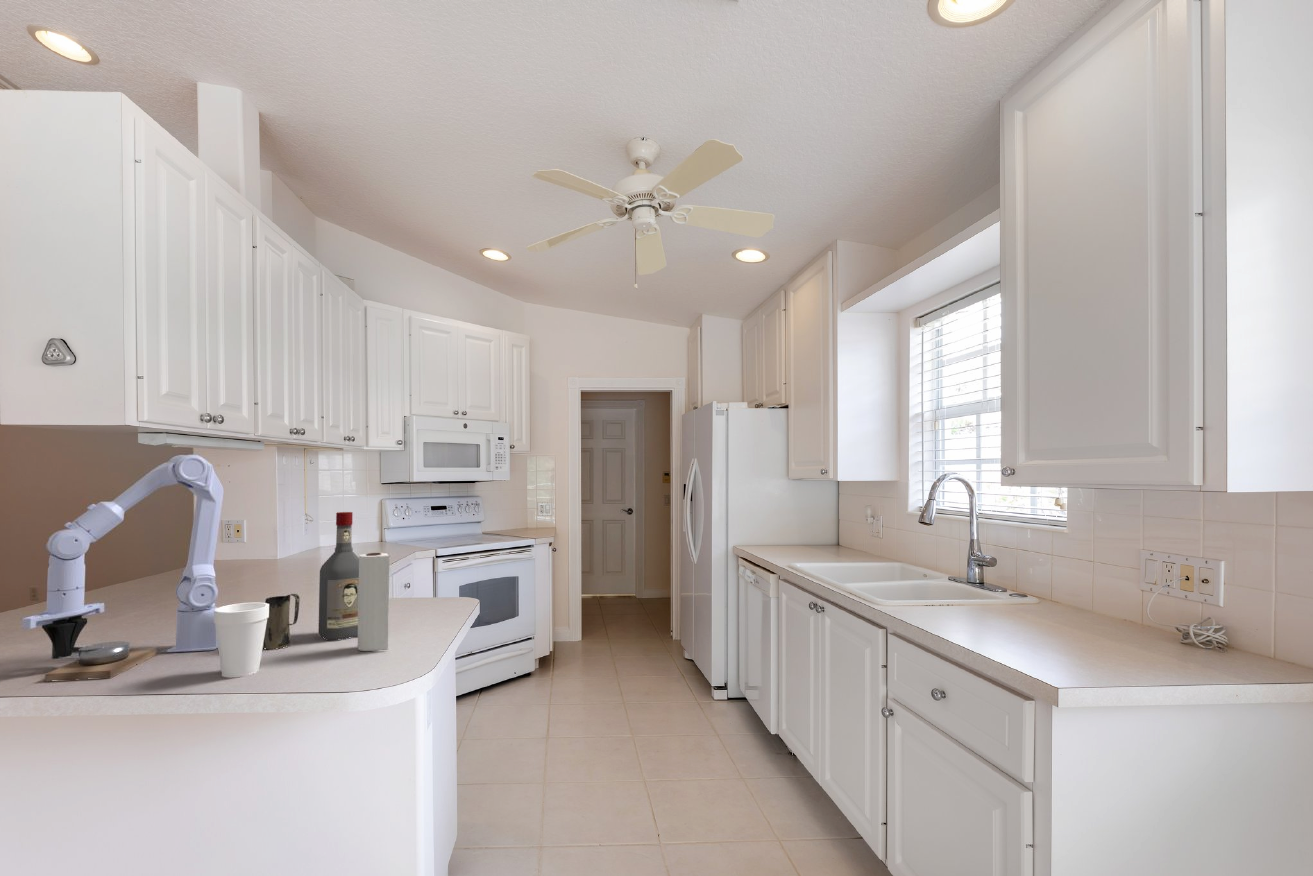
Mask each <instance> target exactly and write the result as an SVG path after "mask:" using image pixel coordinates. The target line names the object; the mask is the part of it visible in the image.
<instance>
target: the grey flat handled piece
mask: <svg viewBox="0 0 1313 876" xmlns="http://www.w3.org/2000/svg"><path fill="white" fill-rule="evenodd" d="M130 646H131V643H130V642H129V641H126V640H125V641H123V640H122V641H121V640H119V641H118V640H117V641H105V642H99V643H94V644H75V645H74V648H73V651H72V654H71V656H67V657H56V653H55V650H54V647H53V644H52V643H51V659H52V660H58V659H62V658H63V659H67V658H68V659H70V658H71V659H78V660H79V661H78V663H79V664H83V665H93V664H103V663H109V662H114V661H118V660H122V659H124V658H127V657H128V656H129V649H130Z"/></svg>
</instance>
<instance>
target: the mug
mask: <svg viewBox="0 0 1313 876" xmlns="http://www.w3.org/2000/svg"><path fill="white" fill-rule="evenodd" d="M291 596H292V597H294V599H295V600H294V603H295V604H294V616H293V617H294V618H293V622H292V623H290V606H291ZM264 603H267V604H269V618H267V624H266V630H265V636H264V642H263V648H266V649H276V648H282V649H284V648H283V647H286V646H289V645H290V644H292V643H291V635H290V634H291V633H290V630H291V629H290V626H292V625H295V624H297V622H298V619H299V611H300V596H299V595H298V594H297V593H291V594H287V595H276V596H270V597H267V598H265V602H264ZM290 646H291V645H290ZM290 646H289V647H290ZM263 648H262V649H263ZM286 648H287V647H286ZM276 650H277V649H276Z"/></svg>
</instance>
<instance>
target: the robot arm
mask: <svg viewBox="0 0 1313 876" xmlns="http://www.w3.org/2000/svg"><path fill="white" fill-rule="evenodd" d="M178 484H180V485H182V486H185V487H186V488H187V489H188V490H189V491H190V492H191V493H192V494H194V495H195V497H196V501H195V508H194V509H195V510H194V515H193V522H192V523H193V524H192V528H191V536H190V541H189V542H190V544H189V549H188V555H187V557H188V558H187V562H186V566H185V568H184V570H183V572H182V576H181V577H182V578H181V579H180V581H179V583H178V584H177V586H176V587H175V591H174V594H175V597H176V600H178V601H179V602H180V603H179V605H178V606H177V607H176V622H175V623H176V627H175V630H176V631H175V645H174V646H173V647H171V648H169V649H167V650H166V652H167V653H179V652H180V653H182V652H198V651H199V652H202V651H203V652H204V651H214V650H216V649H218V641H217V633H216V625H215V623H214V611H215V609H216V608H219V607H220V606H216V603H215V602H216V600H217V599H218V595H219V589H218V586H217V585H216V577H217V576H216V572H215V568H214V563H215V555H216V548H217V544H218V543H217V542H218V534H219V528H220V527H219V526H220V520H221V515H222V514H221V513H222V507H223V499H224V491H225V490H224V487H223V485H222V483H221V481H220V479H219V478H218V476H217V474H216V472H215V470H214V465H213V464H212V463H210V462H209V461H208V460H206V459H205V458H204V457H202V456H200V455H197V454H179V455H176V456H173V457H171V458H170V459H169V460H168V461H167V462H163V463H162V464H160V465H158V466H156V467H155V468H153V469H152V470H151V471H149V472H147V474H145V475H144V476H143V477H141V478H140V479H139V480H137V481H136V482H135V483H134V484H133V485H131V486H130V487H129V488H127V489H126V490H125V491H123V492H122V493H121V494H119V495H118V496H117V497H116V498H115V499H114V498H113V500H111V501H99V502H98V503H97V504H95V503H91V504H90V505H88V506H87V507H86V509H87V510H86V512H84V513H82V514H81V515H80V516H78V517H77V518H76V519H74V520H73V521H72V522H70V521H68V522H65V523H64V525H63V526H64V527H66V529H65V528H64V529H61V530H57V531H56V532H54V533H53V534H52V535H50V536H49V538H48V541H47V543H46V544H45V548H46V550H47V551H48V553H49V554H50V555H49V557H48V558H49V559H48V564H49V566H48V568H47V582H46V583H47V584H46V610H45V611H44V612H41V613H39V614H38V613H37V614H35V615H31V616H28V617H23V618H22V619H21V629H26V630H31V629H36V627H41V628H42V630H43V631H44V632H45V633H46V634H47V636H48V638H49V640H50V642H51V645H52V644H53V647H54V650H55V653H56V657H67V656H71V654H72V651H73V648H74V645H76V642H77V640H78V637H80V634H81V633H82V631H83V629H84V627H85V626H86V625H87V623H88V618H87V616H90V615H94V614H102V613H105V603H104V602H94V603H88V604H85V592H86V591H85V590H86V589H85V587H86V585H85V584H86V583H85V582H86V564H85V554H86V553H87V552H88V550H89V548H90V544H91V543H95V542H97V541H98V540H99V539H101V538H103V537H104V536H105V535H107V534H108V533H109V532H111V531H112V530H113V529H114V528H116V527H117V526H118V525H120V524H121V523H122V522H123V521H124V519H125V512H126V511H128V510H129V509H130V508H133V507H134V506H135V505H137V504H138V503H140V502H141V501H143V500H144V499H145V498H147V497H148V496H149V495H151V494H152V493H153V492H155V491H157V490H158V489H159V488H163V487H167V486H173V485H178ZM85 616H86V617H85Z"/></svg>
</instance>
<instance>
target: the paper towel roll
mask: <svg viewBox="0 0 1313 876" xmlns="http://www.w3.org/2000/svg"><path fill="white" fill-rule="evenodd" d="M358 558H359V596H358V637H357V650H358V651H360V652H361V651H364V652H375V651H377V652H378V651H388V650H389V625H390V624H389V614H390V611H389V609H390V607H389V605H390V562H391V561H390V560H391V559H390V555H389V554H388V553H387V552H386V553H385V552H369V553H362V554H359V555H358Z"/></svg>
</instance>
